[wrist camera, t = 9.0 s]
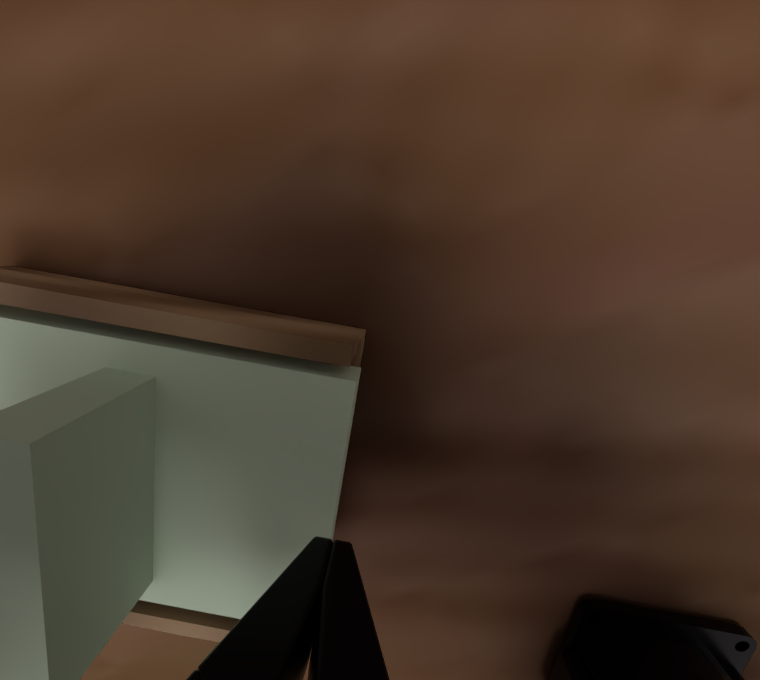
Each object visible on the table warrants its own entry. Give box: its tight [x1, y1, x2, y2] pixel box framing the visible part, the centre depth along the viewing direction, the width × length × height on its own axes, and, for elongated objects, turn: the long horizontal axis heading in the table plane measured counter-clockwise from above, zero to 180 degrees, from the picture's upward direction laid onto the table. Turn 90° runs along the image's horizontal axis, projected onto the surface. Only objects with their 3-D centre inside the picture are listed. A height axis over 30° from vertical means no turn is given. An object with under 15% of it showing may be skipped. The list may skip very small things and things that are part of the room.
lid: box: [0, 304, 361, 680], centre depth 8 cm, size 12×8×4 cm, turn 80°
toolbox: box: [0, 266, 366, 643], centre depth 11 cm, size 12×9×4 cm
